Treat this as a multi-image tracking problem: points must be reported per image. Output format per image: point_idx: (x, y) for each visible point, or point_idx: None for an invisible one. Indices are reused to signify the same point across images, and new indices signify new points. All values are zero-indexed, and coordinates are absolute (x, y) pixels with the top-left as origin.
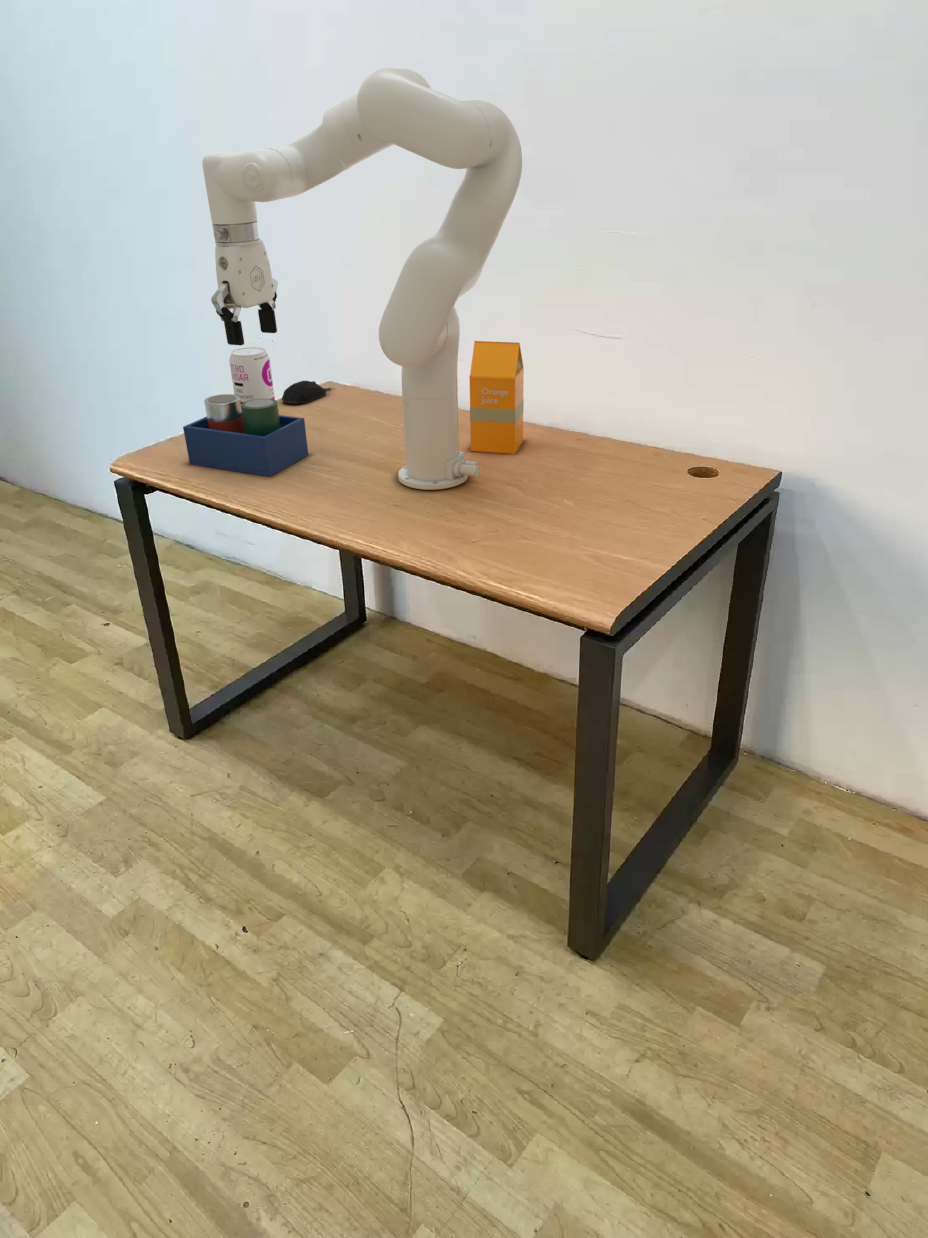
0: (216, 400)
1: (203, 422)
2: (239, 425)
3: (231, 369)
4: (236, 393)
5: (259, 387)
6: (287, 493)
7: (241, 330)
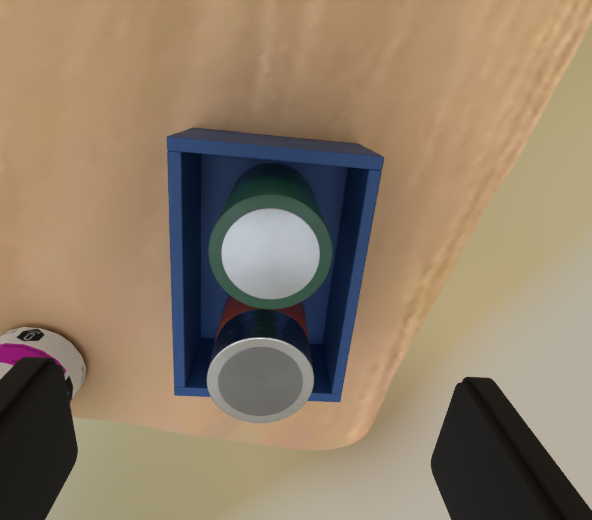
0: (282, 387)
1: None
2: None
3: None
4: None
5: None
6: (454, 40)
7: (539, 461)
